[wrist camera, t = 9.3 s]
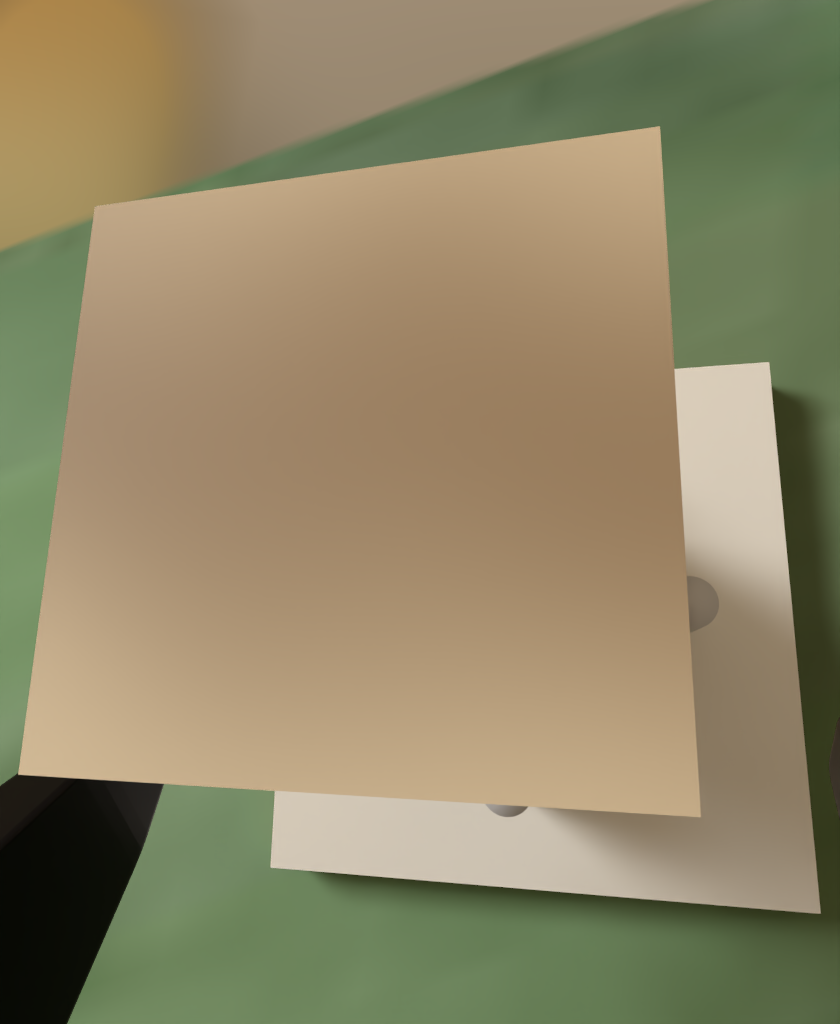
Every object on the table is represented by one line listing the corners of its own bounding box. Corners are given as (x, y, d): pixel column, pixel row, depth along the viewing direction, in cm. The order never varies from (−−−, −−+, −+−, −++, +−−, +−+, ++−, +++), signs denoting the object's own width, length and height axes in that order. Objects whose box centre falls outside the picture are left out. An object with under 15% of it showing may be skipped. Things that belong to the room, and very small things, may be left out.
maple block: (617, 710, 16) (701, 817, 4) (427, 704, 17) (18, 774, 5) (610, 520, 17) (659, 125, 5) (430, 524, 18) (95, 207, 6)
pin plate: (804, 896, 16) (876, 971, 12) (290, 855, 18) (207, 904, 14) (757, 381, 18) (803, 299, 14) (314, 411, 21) (249, 349, 17)
